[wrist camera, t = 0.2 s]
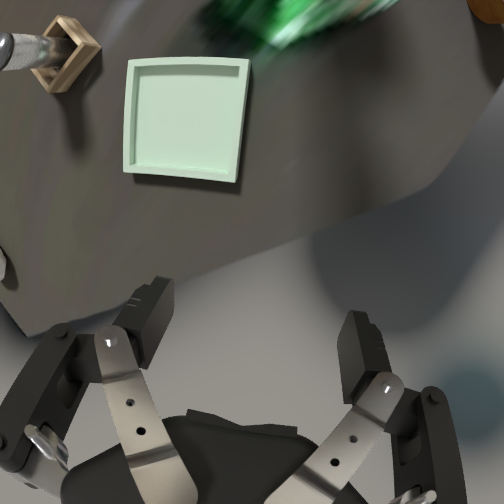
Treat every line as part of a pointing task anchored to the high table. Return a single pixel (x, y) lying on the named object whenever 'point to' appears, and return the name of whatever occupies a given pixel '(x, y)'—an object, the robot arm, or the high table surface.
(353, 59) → the high table surface
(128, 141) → the tray
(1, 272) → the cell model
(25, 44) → the canister
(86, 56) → the holder
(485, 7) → the disposable coffee cup
